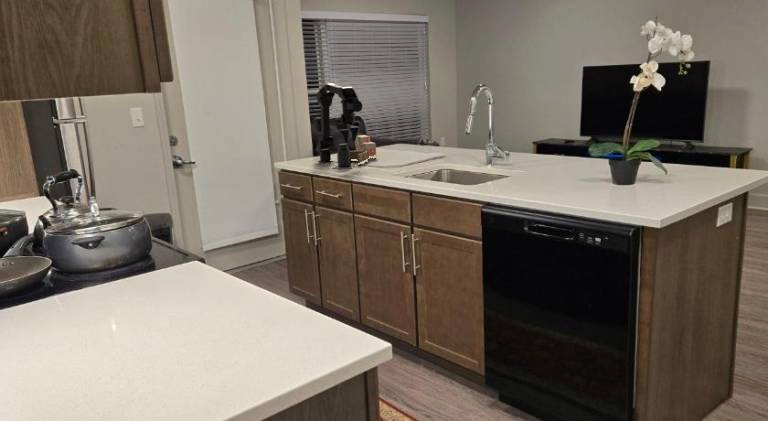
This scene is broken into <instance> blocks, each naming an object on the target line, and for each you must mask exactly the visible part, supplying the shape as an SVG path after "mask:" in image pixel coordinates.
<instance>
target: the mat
mask: <svg viewBox="0 0 768 421" xmlns="http://www.w3.org/2000/svg"><path fill="white" fill-rule="evenodd" d="M355 165H356V164H351V166H350V167H339V166H338V165H336V166H334V167H332V169H333V170H351V169H353V168H355V167H354V166H355ZM352 167H353V168H352ZM350 168H351V169H350Z"/></svg>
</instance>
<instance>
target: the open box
mask: <svg viewBox="0 0 768 421" xmlns="http://www.w3.org/2000/svg"><path fill="white" fill-rule="evenodd" d="M336 157H337V156H336ZM350 158H351V159H357V160H358V162H357V164H358V163H360V162H362V161H364V160H366V159H368V158H369V151H356V150H350ZM336 159H337V161H338V157H337V158H336Z"/></svg>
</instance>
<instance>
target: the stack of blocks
mask: <svg viewBox="0 0 768 421" xmlns="http://www.w3.org/2000/svg"><path fill="white" fill-rule="evenodd" d="M354 144H355V151H369V156H374V155H376V156H377V143H376V142H373V141H372V139H371V136H370V135H366V134H361V135H359V134H358V135H357V137H356V140H355V141H354Z"/></svg>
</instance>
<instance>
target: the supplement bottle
mask: <svg viewBox="0 0 768 421" xmlns="http://www.w3.org/2000/svg"><path fill="white" fill-rule="evenodd" d="M350 151H351V150H350V149H349V146H348V143H339V144H338V150H336V157H338V160H337V166H339V167H350V166H351V165H352V162H351V158H350Z"/></svg>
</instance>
